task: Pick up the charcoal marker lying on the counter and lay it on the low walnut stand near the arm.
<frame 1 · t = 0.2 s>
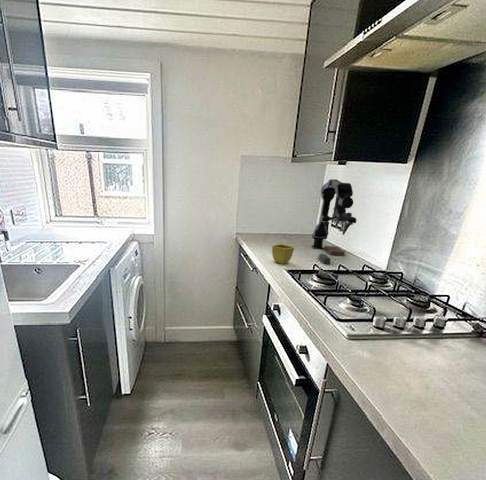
hand: (334, 234, 172), 15 cm above the counter, tool pointing down, fingers open, 9 cm apart
flower pot: (281, 262, 165), on the counter
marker: (323, 261, 171), on the counter
stand: (333, 252, 192), on the counter
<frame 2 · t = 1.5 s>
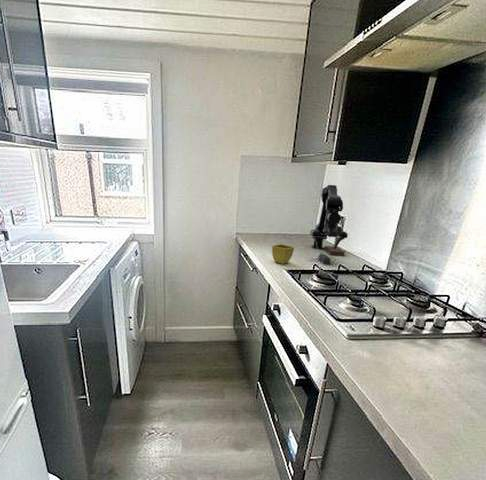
hand: (325, 249, 168), 7 cm above the counter, tool pointing down, fingers open, 9 cm apart
nothing on the counter moved.
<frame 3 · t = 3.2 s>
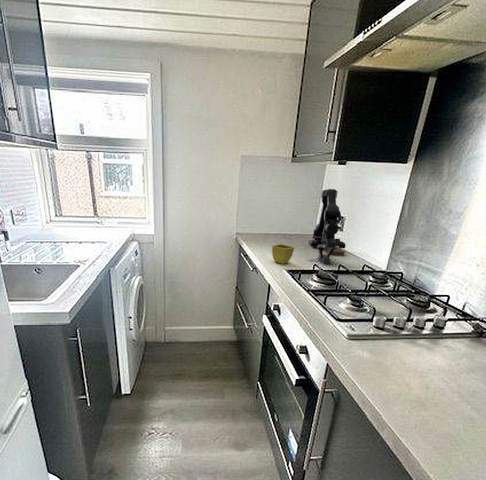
hand: (324, 258, 170), 2 cm above the counter, tool pointing down, fingers closed on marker, 3 cm apart
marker: (323, 261, 171), on the counter, touching gripper
everything else where it was.
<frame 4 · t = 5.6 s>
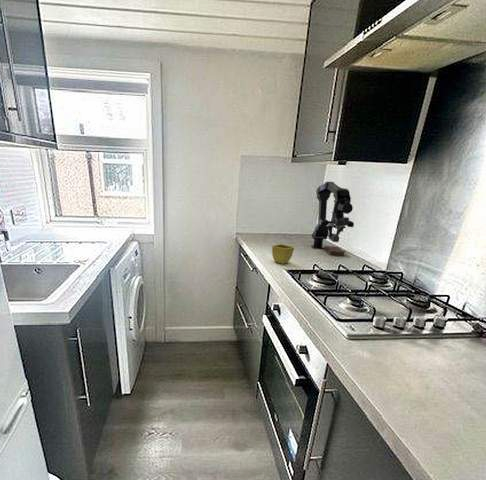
hand: (333, 237, 181), 11 cm above the counter, tool pointing down, fingers closed on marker, 3 cm apart
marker: (332, 239, 181), point 10 cm above the counter, touching gripper
everything else where it was.
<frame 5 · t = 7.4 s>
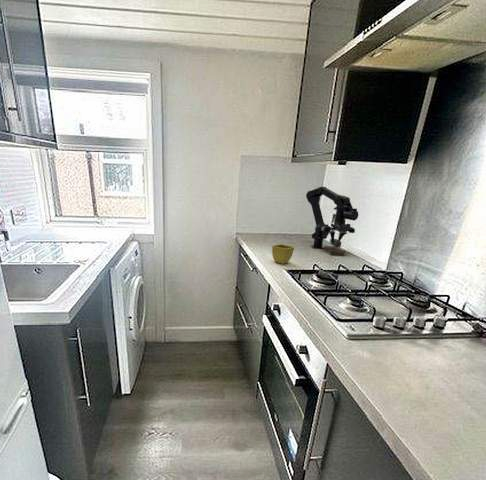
hand: (335, 242, 190), 6 cm above the counter, tool pointing down, fingers closed on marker, 3 cm apart
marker: (335, 245, 190), point 5 cm above the counter, touching gripper
everything else where it was.
when the fingers open (4 cm above the counter, at t = 8.4 s): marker stays where it is, resting on stand.
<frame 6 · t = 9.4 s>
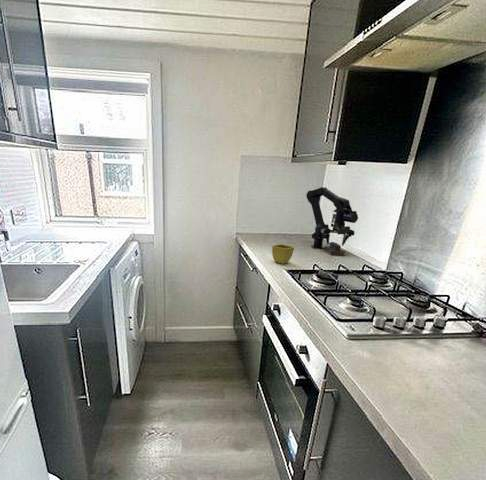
hand: (335, 245, 190), 5 cm above the counter, tool pointing down, fingers open, 9 cm apart
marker: (334, 248, 191), point 2 cm above the counter, touching stand
everything else where it was.
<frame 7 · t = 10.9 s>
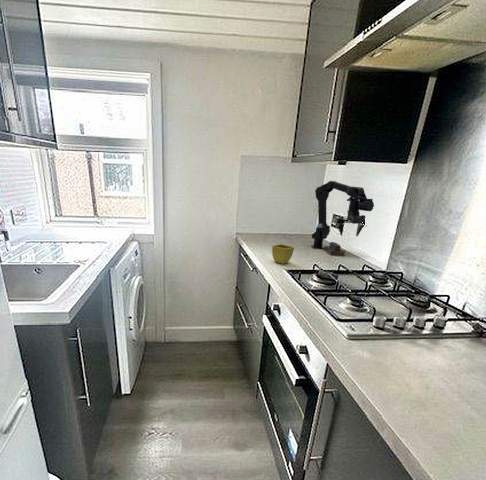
hand: (349, 235, 181), 12 cm above the counter, tool pointing down, fingers open, 9 cm apart
nothing on the counter moved.
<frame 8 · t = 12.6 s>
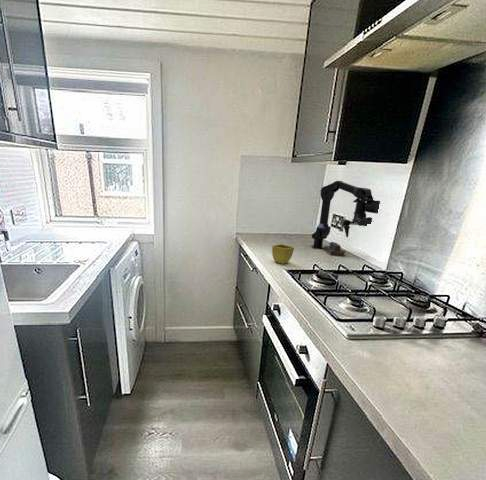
hand: (354, 237, 178), 12 cm above the counter, tool pointing down, fingers open, 9 cm apart
nothing on the counter moved.
at the end: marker inside the target area on the stand (0.0 cm from its centre), point 2.5 cm above the stand's base; the gripper is holding nothing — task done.
